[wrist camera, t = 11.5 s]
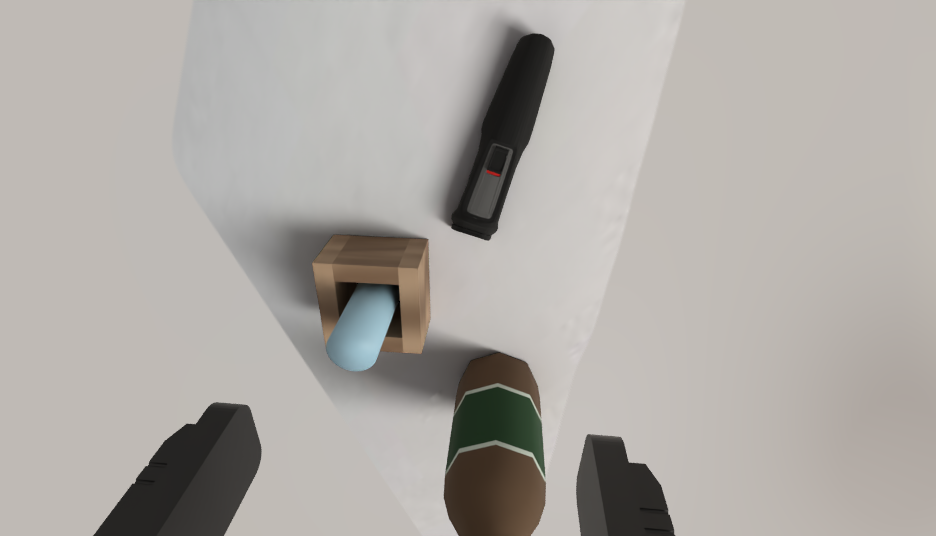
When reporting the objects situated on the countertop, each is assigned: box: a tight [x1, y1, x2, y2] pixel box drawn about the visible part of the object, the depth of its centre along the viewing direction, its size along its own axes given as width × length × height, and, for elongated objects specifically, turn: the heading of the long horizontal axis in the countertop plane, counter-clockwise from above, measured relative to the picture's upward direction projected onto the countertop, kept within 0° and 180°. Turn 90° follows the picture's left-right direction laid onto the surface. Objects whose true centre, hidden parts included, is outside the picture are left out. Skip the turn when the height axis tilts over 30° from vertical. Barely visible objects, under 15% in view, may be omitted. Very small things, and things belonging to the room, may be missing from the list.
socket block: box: [312, 235, 430, 354], centre depth 40 cm, size 8×8×5 cm
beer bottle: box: [444, 353, 546, 536], centre depth 36 cm, size 8×8×24 cm
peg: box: [326, 283, 400, 371], centre depth 38 cm, size 4×4×10 cm
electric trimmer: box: [451, 34, 554, 240], centre depth 35 cm, size 4×16×3 cm, turn 162°
